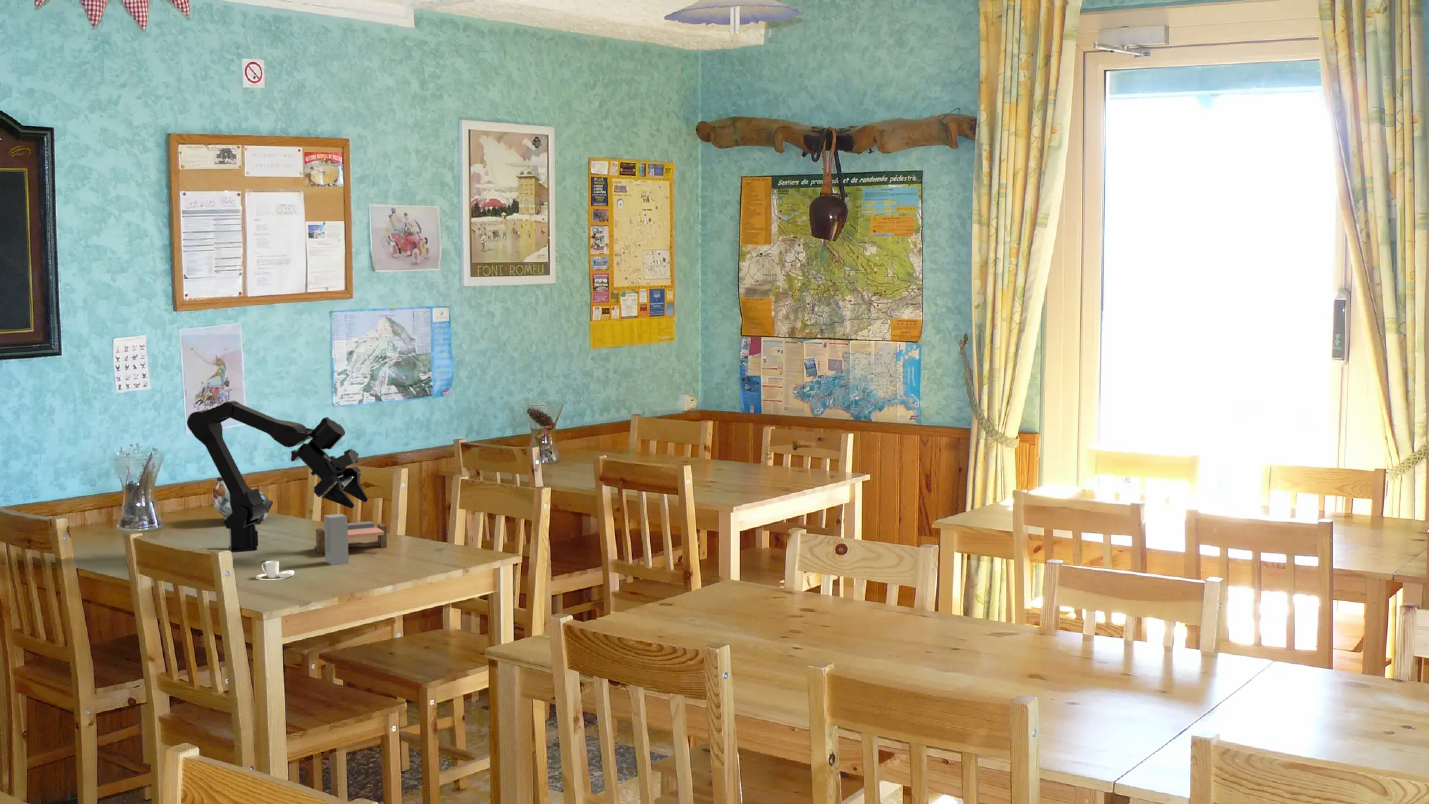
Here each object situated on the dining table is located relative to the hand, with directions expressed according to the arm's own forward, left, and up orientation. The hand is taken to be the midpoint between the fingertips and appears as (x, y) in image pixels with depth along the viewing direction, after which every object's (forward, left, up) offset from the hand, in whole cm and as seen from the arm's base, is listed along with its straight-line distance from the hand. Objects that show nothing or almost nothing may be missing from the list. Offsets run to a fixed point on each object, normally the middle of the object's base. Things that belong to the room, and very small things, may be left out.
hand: (360, 504), depth 351 cm
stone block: (-8, -9, -13) cm, 18 cm away
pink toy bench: (-1, +7, -13) cm, 15 cm away
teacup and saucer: (-25, -22, -14) cm, 36 cm away
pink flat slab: (-1, +5, -10) cm, 11 cm away
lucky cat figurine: (-22, +60, -13) cm, 65 cm away
